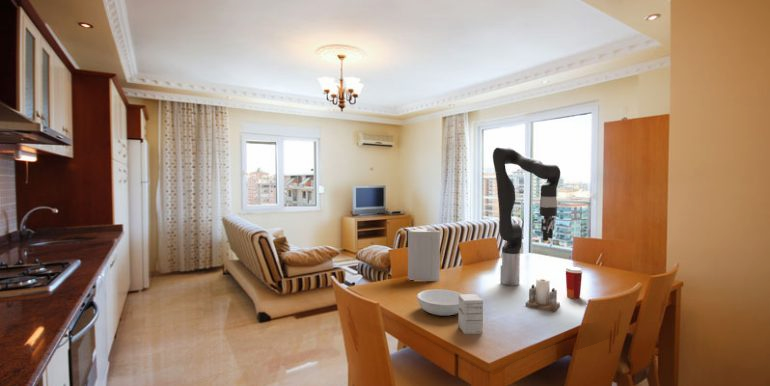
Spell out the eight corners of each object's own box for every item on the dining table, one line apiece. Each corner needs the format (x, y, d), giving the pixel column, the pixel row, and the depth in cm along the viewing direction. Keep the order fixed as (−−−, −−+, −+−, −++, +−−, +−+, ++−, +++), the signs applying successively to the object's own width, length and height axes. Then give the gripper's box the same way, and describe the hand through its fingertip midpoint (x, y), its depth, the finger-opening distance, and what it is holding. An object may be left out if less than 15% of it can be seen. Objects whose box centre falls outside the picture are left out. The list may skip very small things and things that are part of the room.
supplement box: (457, 326, 141) (458, 294, 141) (476, 325, 142) (476, 293, 141) (463, 334, 134) (463, 300, 133) (483, 333, 134) (483, 299, 134)
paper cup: (581, 295, 179) (582, 267, 179) (582, 300, 172) (583, 270, 172) (564, 293, 182) (564, 265, 182) (564, 298, 175) (564, 269, 175)
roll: (534, 302, 164) (534, 279, 164) (538, 299, 168) (538, 277, 168) (547, 305, 160) (547, 282, 160) (551, 302, 165) (551, 279, 164)
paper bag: (429, 284, 198) (429, 233, 197) (407, 279, 207) (407, 231, 207) (447, 277, 212) (447, 229, 212) (426, 273, 222) (426, 227, 221)
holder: (525, 306, 164) (525, 286, 164) (532, 300, 172) (532, 282, 172) (554, 312, 157) (554, 292, 156) (559, 305, 164) (560, 286, 164)
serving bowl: (436, 324, 142) (436, 307, 142) (408, 308, 161) (408, 293, 161) (476, 316, 152) (477, 299, 152) (446, 301, 171) (446, 286, 170)
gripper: (544, 205, 184) (543, 237, 184) (535, 206, 173) (535, 240, 173) (560, 205, 179) (559, 238, 180) (552, 207, 168) (552, 242, 168)
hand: (547, 239), depth 176 cm, fingers open, 8 cm apart
